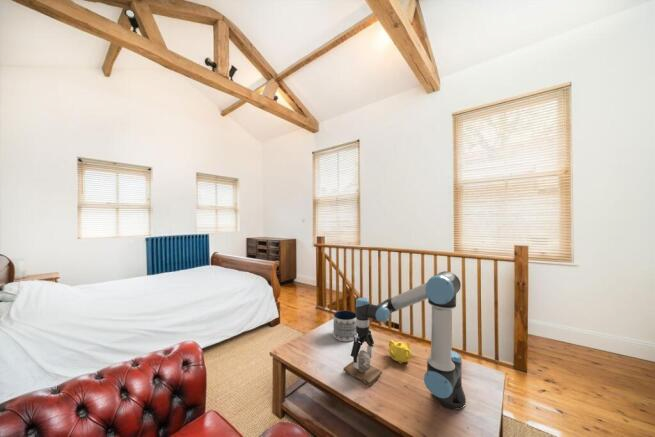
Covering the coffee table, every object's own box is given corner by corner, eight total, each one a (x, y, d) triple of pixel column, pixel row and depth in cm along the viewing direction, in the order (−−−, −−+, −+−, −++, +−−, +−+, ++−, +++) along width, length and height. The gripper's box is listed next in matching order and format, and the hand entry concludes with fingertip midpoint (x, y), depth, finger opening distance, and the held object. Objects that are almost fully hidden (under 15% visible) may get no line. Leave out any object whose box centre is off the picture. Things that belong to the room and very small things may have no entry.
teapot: (399, 348, 166) (399, 332, 166) (421, 361, 151) (421, 343, 151) (378, 357, 155) (378, 340, 155) (400, 372, 140) (400, 353, 140)
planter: (350, 344, 171) (350, 321, 171) (329, 337, 181) (329, 316, 181) (361, 334, 186) (361, 313, 186) (340, 328, 196) (340, 308, 196)
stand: (382, 376, 137) (382, 371, 137) (369, 388, 127) (369, 382, 127) (356, 363, 149) (356, 358, 149) (343, 373, 139) (343, 368, 139)
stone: (352, 376, 132) (352, 358, 132) (357, 361, 146) (357, 345, 146) (368, 379, 129) (368, 361, 129) (372, 364, 143) (372, 347, 143)
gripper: (368, 317, 150) (369, 351, 149) (344, 330, 131) (344, 369, 131) (379, 320, 145) (379, 355, 144) (355, 335, 126) (355, 375, 126)
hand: (363, 362), depth 138 cm, fingers open, 13 cm apart
